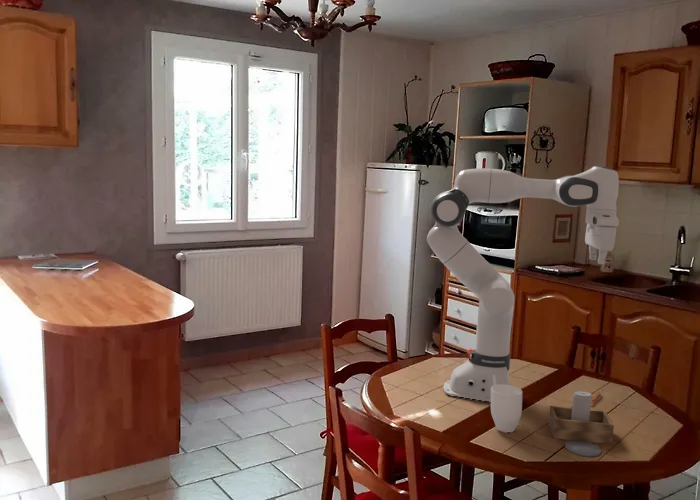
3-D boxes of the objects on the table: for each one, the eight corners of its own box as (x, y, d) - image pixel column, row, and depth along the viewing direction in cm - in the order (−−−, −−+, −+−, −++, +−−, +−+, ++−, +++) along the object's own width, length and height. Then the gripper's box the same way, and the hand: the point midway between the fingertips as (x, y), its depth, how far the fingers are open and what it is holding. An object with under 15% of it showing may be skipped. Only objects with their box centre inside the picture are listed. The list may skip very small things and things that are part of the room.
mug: (520, 437, 176) (522, 396, 175) (488, 433, 179) (489, 392, 177) (521, 421, 187) (523, 382, 186) (491, 418, 190) (492, 379, 188)
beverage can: (589, 437, 177) (592, 397, 176) (571, 435, 178) (574, 395, 177) (586, 431, 182) (589, 391, 181) (569, 429, 183) (572, 389, 181)
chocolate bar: (584, 406, 203) (585, 399, 203) (594, 396, 213) (595, 389, 213) (593, 408, 202) (593, 401, 201) (602, 397, 211) (603, 391, 211)
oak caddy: (553, 438, 176) (555, 419, 176) (548, 423, 187) (549, 405, 186) (612, 444, 174) (613, 425, 173) (603, 428, 184) (605, 410, 183)
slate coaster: (568, 454, 166) (568, 452, 166) (562, 440, 175) (562, 438, 175) (603, 458, 165) (604, 456, 165) (596, 443, 174) (596, 441, 173)
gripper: (582, 215, 208) (578, 256, 209) (599, 220, 187) (594, 266, 189) (601, 216, 207) (598, 257, 209) (621, 221, 187) (616, 267, 188)
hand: (596, 261), depth 199 cm, fingers open, 8 cm apart
